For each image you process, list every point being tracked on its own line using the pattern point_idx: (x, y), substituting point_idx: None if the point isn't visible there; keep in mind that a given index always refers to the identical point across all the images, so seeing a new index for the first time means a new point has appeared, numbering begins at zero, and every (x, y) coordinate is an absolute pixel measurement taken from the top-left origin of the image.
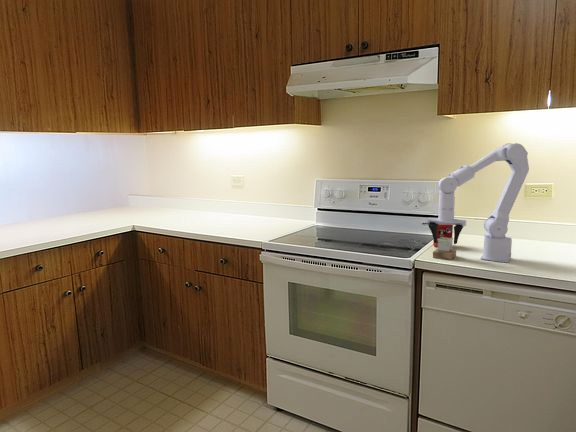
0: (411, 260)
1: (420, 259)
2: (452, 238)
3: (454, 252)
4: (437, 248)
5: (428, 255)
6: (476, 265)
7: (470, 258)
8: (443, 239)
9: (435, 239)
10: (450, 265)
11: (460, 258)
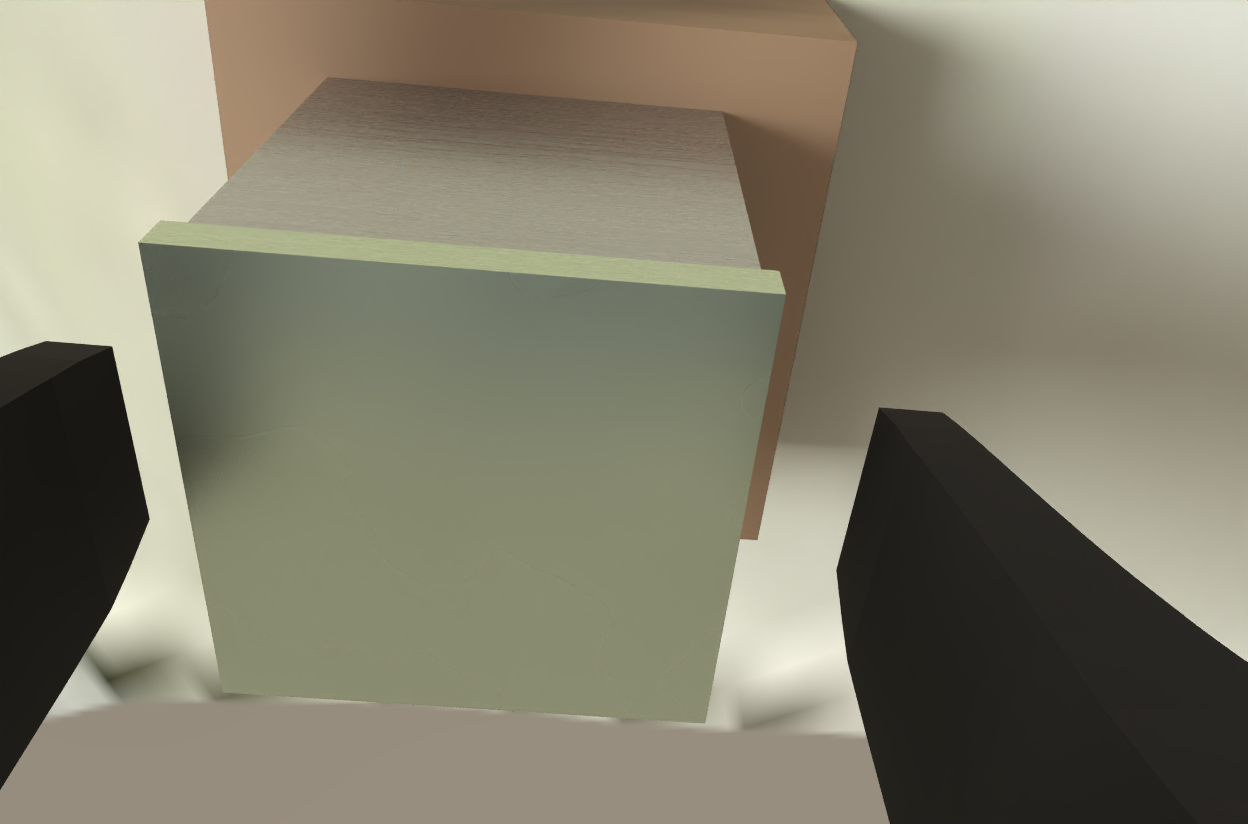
0: (57, 706)
1: (155, 601)
2: (766, 355)
3: (808, 255)
4: (217, 92)
5: (130, 242)
6: (1243, 578)
7: (1222, 75)
8: (434, 649)
9: (107, 592)
10: (766, 726)
11: (947, 191)
